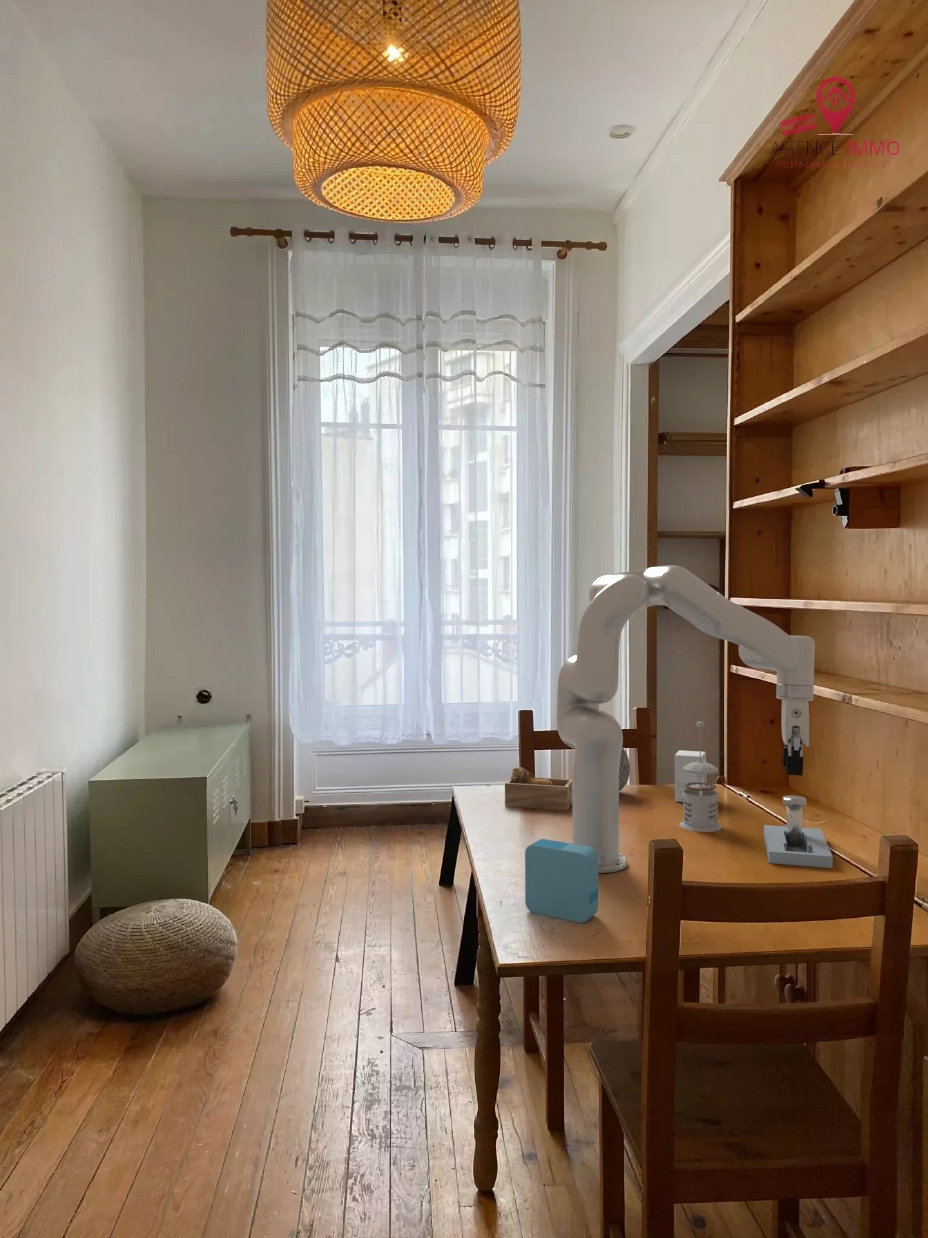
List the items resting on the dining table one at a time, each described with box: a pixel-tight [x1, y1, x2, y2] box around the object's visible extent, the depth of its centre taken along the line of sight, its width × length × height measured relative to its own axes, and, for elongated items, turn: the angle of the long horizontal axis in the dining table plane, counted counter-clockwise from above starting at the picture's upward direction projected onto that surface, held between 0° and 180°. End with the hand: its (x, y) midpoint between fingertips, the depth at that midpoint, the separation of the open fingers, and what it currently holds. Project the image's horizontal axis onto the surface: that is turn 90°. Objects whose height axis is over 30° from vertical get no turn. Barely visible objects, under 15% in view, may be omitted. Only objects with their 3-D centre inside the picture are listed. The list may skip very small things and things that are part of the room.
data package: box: [524, 838, 599, 924], centre depth 144 cm, size 12×4×12 cm, turn 58°
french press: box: [678, 720, 723, 833], centre depth 198 cm, size 10×12×25 cm
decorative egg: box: [619, 746, 631, 792], centre depth 229 cm, size 12×12×15 cm
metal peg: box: [782, 795, 807, 847], centre depth 181 cm, size 5×5×10 cm
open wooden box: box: [504, 776, 572, 811], centre depth 219 cm, size 9×16×6 cm, turn 73°
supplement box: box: [674, 749, 707, 803], centre depth 222 cm, size 7×7×13 cm
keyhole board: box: [763, 824, 834, 869], centre depth 178 cm, size 20×12×2 cm, turn 163°
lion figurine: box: [510, 766, 553, 786], centre depth 219 cm, size 15×5×9 cm, turn 62°
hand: (792, 770), depth 181 cm, fingers open, 9 cm apart
